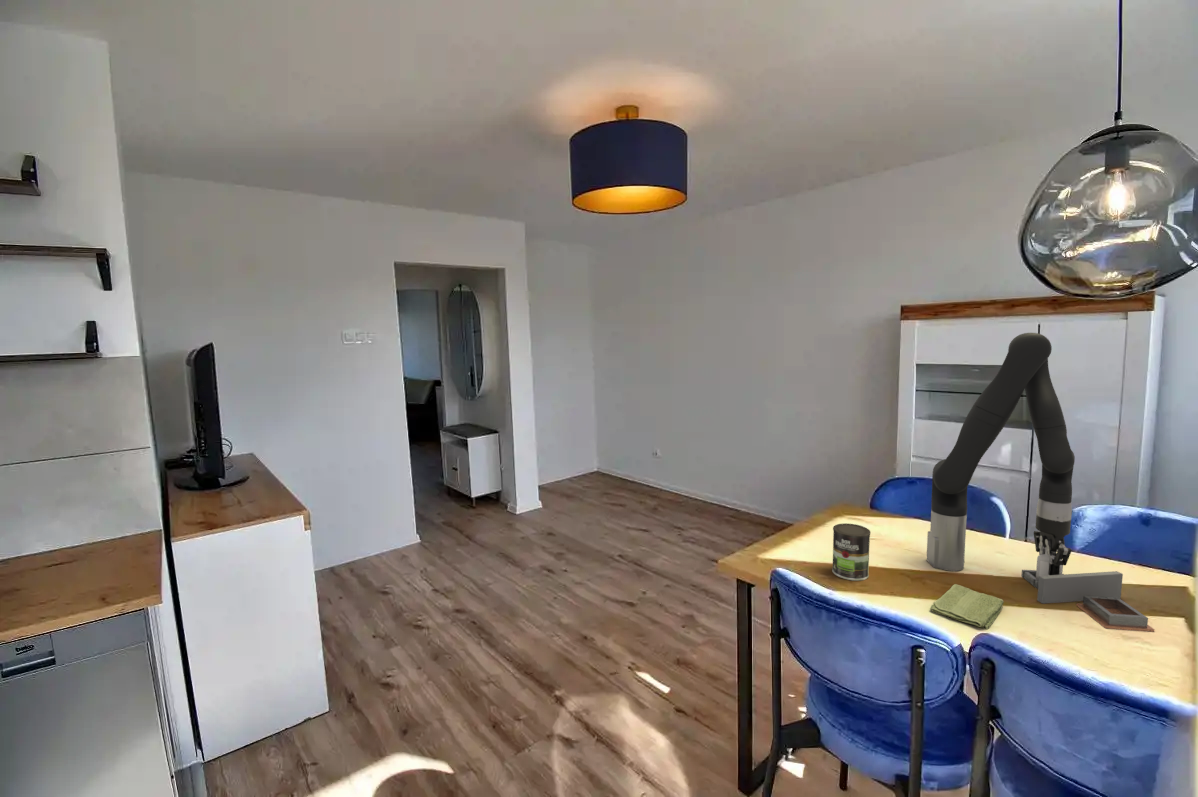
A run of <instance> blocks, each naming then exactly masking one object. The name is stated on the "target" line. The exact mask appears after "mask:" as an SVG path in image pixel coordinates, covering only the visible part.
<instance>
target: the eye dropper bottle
mask: <svg viewBox="0 0 1198 797" xmlns="http://www.w3.org/2000/svg"><path fill="white" fill-rule="evenodd" d="M1052 553H1057V552H1052ZM1054 559H1055V556H1054ZM1049 563H1050V561H1049V555H1047V548H1046V547H1045V554H1042V555H1039V554H1038V556H1037V559H1036V568H1035V570H1036V578H1037V579H1038V580H1039V576H1048V575H1049ZM1063 570H1064V565H1060V569H1059V575H1062V574H1063V572H1064V571H1063Z"/></svg>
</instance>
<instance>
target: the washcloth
mask: <svg viewBox="0 0 1198 797" xmlns="http://www.w3.org/2000/svg"><path fill="white" fill-rule="evenodd" d="M1004 603H1005V602H1004V599H1002V598H999V597H996V596H994V595H990V594H986V593H983V592H979V591H977V590H976V591H975V590H973V589H971V588H969V587H966V586H963V585H960V584H957V583H955V584H953V585H952V586H951V587H950V588H949V589H948V590H947V591H946V592H944V593H943V595H942V596H940V597H939V598H937V599H936V600H935V601H934V602H933V604H931V606H930V608H929V609H930V610H929V611H931V612H933V613H935V614H939V615H942V616H945V617H949V618H950V619H953V620H954V621H956V620H957V621H959V622H963V623H965V624H970V625H973V626H976V627H978V628H982V629H983V630H988V629H990V627H991V626H992V625H993V623H994V622H995V620H996V619H997V617H998V616H999V614H1000V613H1001V611H1002V609H1003V605H1004Z"/></svg>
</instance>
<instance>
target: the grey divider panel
mask: <svg viewBox="0 0 1198 797" xmlns="http://www.w3.org/2000/svg"><path fill="white" fill-rule="evenodd" d="M1063 574H1064V573H1063ZM1123 575H1124V574H1123V573H1122V572H1119V571H1118V570H1117V571H1116V570H1115V571H1100V572H1099V571H1098V572H1083V573H1068V574H1064V575H1048V576H1039V584H1038V589H1037V602H1039V603H1041V604H1054V603H1055V604H1056V603H1057V604H1058V603H1073V602H1083V598H1084V596H1095V597H1111V598H1120V599H1121V598H1122V586H1123Z"/></svg>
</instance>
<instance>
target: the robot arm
mask: <svg viewBox="0 0 1198 797" xmlns="http://www.w3.org/2000/svg"><path fill="white" fill-rule="evenodd" d="M1007 348H1008V349H1007V350H1008V351H1007V354H1006V356H1005V358H1004V360H1003V363H1002V365H1001V367H1000V369H999V370H998V372H997V374H996V375H995V377H994V378H993V379H992V380H991V381H990V382H989V384H988V385H987V386H986V388H984V389H983V391H981V394H980V395H979V396H978V397H977V399H976V400H975V401H974V403H973V405H972V406H971V409H970V410H969V411H968V413H967V415H966V417H965V419H964V421H963V423H962V425H961V428H960V431H959V434H958V437H957V440H956V442H955V445H954V446H953V448H952V450H951V452H949V454H948V456H947V457H946V458H945V459H941V460H939V461H938V462H937V463H936V464H935V465H934V466H933V469H932V477H931V483H932V484H931V497H930V498H931V499H930V500H931V502H930V503H931V504H930V506H931V508H930V509H931V512H930V528H929V529H930V530H929V531H927V538H926V542H927V543H926V561H927V562H928V563H929V564H930V565H931V566H932V568H934V569H936V568H937V569H939V570H945V571H949V572H951V571H952V572H953V571H955V572H956V571H957V572H958V571H959V572H960V571H962V570H963V569H964V568H965V555H966V554H965V552H966V537H967V536H966V535H967V534H966V532H967V520H968V518H967V517H968V486H969V484H970V483H971V482H970V481H971V480H972V477H973V475H974V473H975V471H976V470H977V467H978V465H979V463H980V462H981V459H982V458H983V456H984V455H985V453H986V452H987V451H988V450H989V448H990V447H991V446H992V444H993V443H994V442H995V441H996V439H997V438H998V436H999V435H1000V434H1001V432H1002V430H1004V429H1003V428H1005V425H1006V424H1007V423H1008V421H1009V420H1010V418H1011V416H1012V414H1013V412H1014V411H1015V409H1016V407H1017V405H1018V403H1019V401H1020V400H1021V397H1022V395H1023V393H1024V391H1025V396H1026V401H1027V407H1028V411H1029V415H1030V419H1031V420H1030V421H1031V423H1032V427H1033V431H1034V433H1035V436H1036V439H1037V440H1036V441H1037V448H1038V452H1039V459H1040V462H1041V480H1040V483H1039V490H1038V501H1037V504H1036V513H1035V514H1036V515H1035V529H1036V530H1034V531H1033V538H1034V539H1033V540H1034V546H1035V552H1037V553H1039V554H1038V556H1039V555H1042V554H1045V547H1046V548H1047V555H1049V561H1050V563H1049V575H1059V569H1060V565H1063V566H1066V565H1067V563H1068V561H1069V559H1070V556H1071V553H1072V548H1070V547H1067V546H1065V544H1066V542H1065V537H1066V536H1069V535H1070V534H1071V528H1072V527H1071V526H1072V513H1073V510H1072V498H1073V484H1072V479H1073V475H1074V474H1073V472H1074V465H1075V460H1076V458H1075V452H1074V451H1073V450H1072V448H1071V445H1070V442H1069V439H1068V435H1067V434H1068V429H1067V424H1066V421H1065V420H1066V419H1065V417H1064V412H1063V409H1062V406H1061V404H1060V401H1059V400H1060V399H1059V397H1058V396H1057V393H1056V390H1055V387H1054V386H1053V382H1052V379H1051V374H1050V370H1049V358H1050V356H1051V355H1052V354H1051V353H1052V349H1053V348H1052V343H1051V342H1050V340H1049V338H1047V336H1046V335H1043V334H1041V333H1039V332H1024V333H1021V334H1019V335H1017V336H1015V337H1014V338H1012V339H1011V340H1010V343H1009V345H1008V347H1007ZM1052 552H1056V553H1052ZM1054 556H1055V559H1054Z"/></svg>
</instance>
